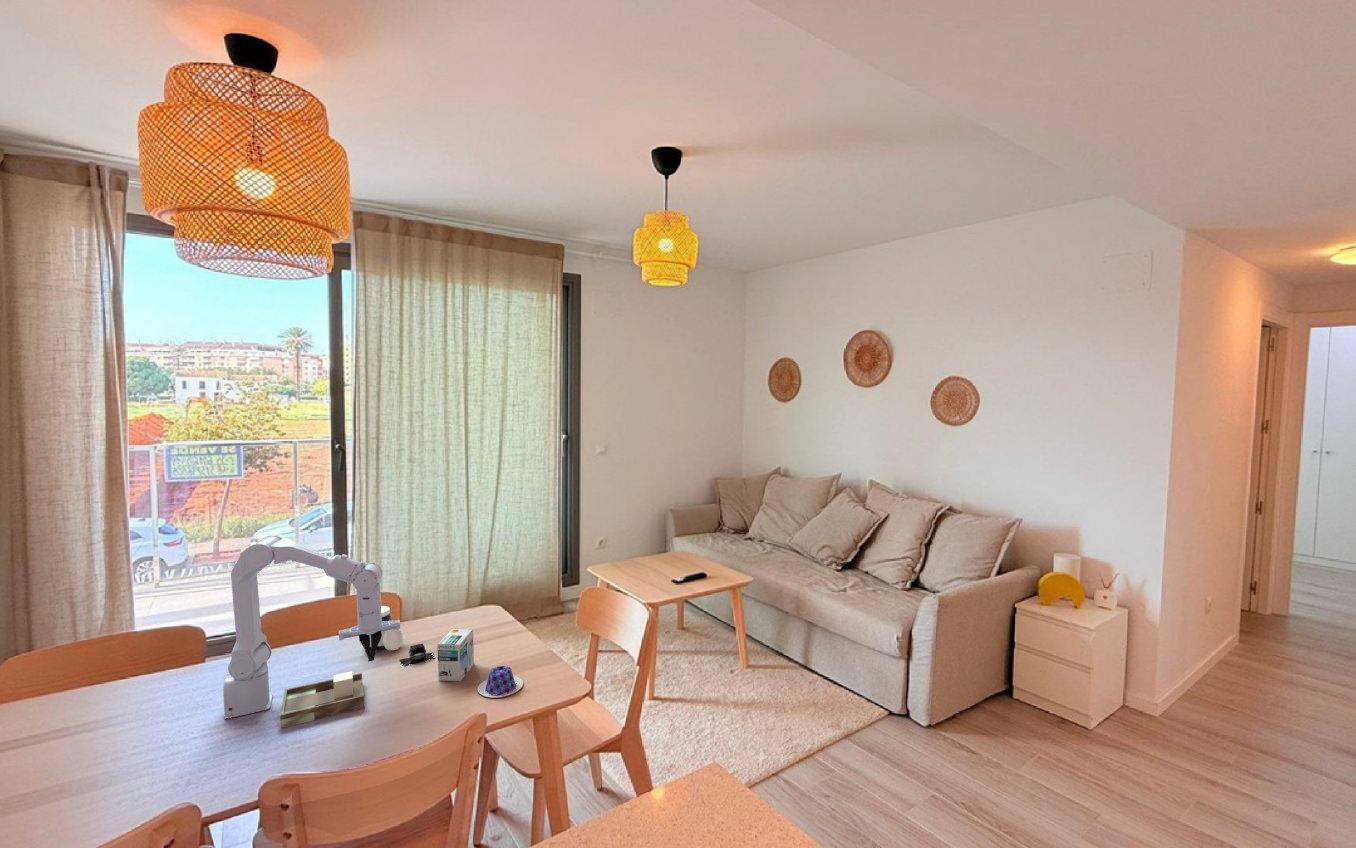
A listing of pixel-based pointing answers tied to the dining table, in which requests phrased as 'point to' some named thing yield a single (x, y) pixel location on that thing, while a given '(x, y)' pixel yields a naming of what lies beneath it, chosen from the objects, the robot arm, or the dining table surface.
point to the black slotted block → (418, 658)
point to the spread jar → (389, 633)
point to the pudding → (500, 682)
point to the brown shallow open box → (318, 701)
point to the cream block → (343, 684)
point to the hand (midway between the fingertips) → (371, 659)
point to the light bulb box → (455, 655)
